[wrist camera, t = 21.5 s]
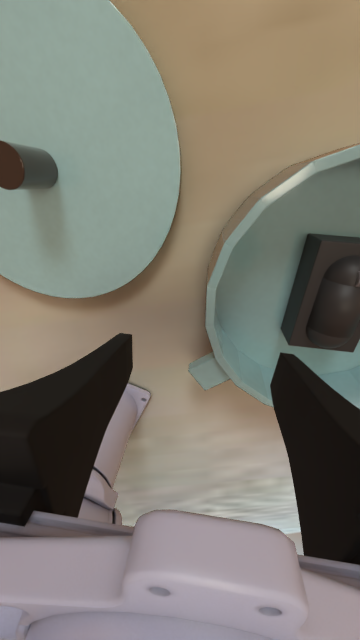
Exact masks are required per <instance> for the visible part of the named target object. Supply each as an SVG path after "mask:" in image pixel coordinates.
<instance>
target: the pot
mask: <svg viewBox="0 0 360 640" xmlns="http://www.w3.org/2000/svg"><path fill="white" fill-rule="evenodd" d="M309 233H311V234H323V235H335V236H347V237H359V238H360V143H358V144H354V145H350V146H347V147H343V148H340V149H336V150H333V151H331V152H328V153H325V154H322V155H319V156H317V157H314V158H311V159H308V160H305V161H303V162H300V163H297V164H294V165H291V166H290V167H288V168H286V169H285V170H284V171H282V172H281V173H279V174H278V175H277V176H275V177H274V178H272V179H270V180H269V181H267V182H266V183H265V184H264V185H263V186H261V187H260V188H259V189H258V190H256V191H255V192H253V193H252V194H251V195H250V196H249V197H248V198H247V199H246V200H245V202H244V203H243V204H242V205H241V206H240V207H239V209H238V210H237V211H236V212H235V214H234V215H233V216H232V218H231V219H230V220H229V222H228V223H227V225H226V226H225V227H224V229H223V230H222V232H221V234H220V237H219V240H218V242H217V244H216V247H215V249H214V251H213V255H212V258H211V260H210V263H209V266H208V274H207V293H206V315H205V328H206V331H207V334H208V337H209V340H210V343H211V346H212V350H213V352H211V353H209V354H207V355H205V356H203V357H201V358H199V359H197V360H195V361H193V362H192V363H190V364H189V370H188V371H189V372H190V374H191V375H192V376H193V377H194V378H195V379H196V381H197V382H198V383H199V384H200V385H201V386H202V388H203V389H204V390H208V389H210V388H212V387H214V386H216V385H218V384H221V383H223V382H225V381H227V380H229V379H231V380H232V381H233V382H234V384H235V385H237V386H238V387H239V388H241V389H242V390H244V391H245V392H247V393H248V394H250V395H251V396H253V397H254V398H256V399H257V400H259V401H260V402H262V403H263V404H265V405H268V406H271V407H274V406H273V402H272V396H271V389H270V384H271V380H272V377H273V374H274V371H275V368H276V365H277V361H278V358H279V355H280V352H281V353H289V354H294V355H295V356H297V357H298V358H299V359H300V360H301V361H302V362H303V363H304V364H306V365H307V366H308V367H309V368H310V369H311V370H312V371H313V372H314V373H315V374H317V375H318V376H319V377H320V378H321V379H322V380H323V381H325V382H326V383H327V384H328V385H329V386H330V387H332V388H333V389H334V390H335V391H336V392H338V393H339V394H340V395H342V396H343V397H344V398H345V399H347V400H348V401H349V402H351V403H352V404H353V405H355V406H356V407H358V408H359V409H360V340H359V342H358V344H357V346H356V348H355V350H354V352H353V353H352V352H343V351H334V350H326V349H317V348H308V347H299V346H290V345H288V343H287V341H286V339H285V337H284V335H283V333H282V331H281V325H282V322H283V318H284V315H285V311H286V308H287V304H288V301H289V297H290V294H291V291H292V287H293V284H294V280H295V277H296V273H297V270H298V266H299V263H300V259H301V256H302V252H303V249H304V245H305V242H306V239H307V235H308V234H309Z"/></svg>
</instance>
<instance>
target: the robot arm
mask: <svg viewBox="0 0 360 640" xmlns="http://www.w3.org/2000/svg"><path fill="white" fill-rule="evenodd" d="M132 368H133V362H132V335H131V334H123V333H119V334H118V335H116V336H115V337H113V338H112V339H111V340H109V341H108V342H106V343H105V344H103V345H102V346H100V347H99V348H98V349H96V350H95V351H93V352H91V353H90V354H88V355H87V356H85V357H83V358H82V359H80V360H78V361H77V362H75V363H73V364H71V365H69V366H67V367H65V368H63V369H61V370H59V371H57V372H55V373H53V374H50V375H48V376H46V377H43V378H41V379H38V380H36V381H33V382H31V383H28V384H25V385H22V386H19V387H16V388H13V389H10V390H6V391H3V392H0V640H360V409H359V408H358V407H356V406H355V405H353V404H352V403H351V402H349V401H348V400H347V399H345V398H344V397H343V396H342V395H340V394H339V393H338V392H336V391H335V390H334V389H333V388H332V387H330V386H329V385H328V384H327V383H326V382H325V381H323V380H322V379H321V378H320V377H319V376H318V375H317V374H315V373H314V372H313V371H312V370H311V369H310V368H309V367H308V366H307V365H306V364H304V363H303V362H302V361H301V360H300V359H299V358H298V357H297V356H295V355H294V354H289V353H281V352H280V355H279V358H278V361H277V365H276V368H275V371H274V374H273V377H272V380H271V384H270V389H271V396H272V402H273V406H274V410H275V413H276V417H277V420H278V423H279V427H280V430H281V433H282V436H283V440H284V443H285V446H286V450H287V453H288V457H289V462H290V467H291V472H292V478H293V483H294V489H295V495H296V501H297V507H298V514H299V521H300V527H301V534H302V543H303V551H304V556H303V555H297V552H296V548H295V544H294V542H293V541H292V540H291V539H289V538H288V537H287V536H286V535H285V534H284V533H283V532H281V531H280V530H279V529H276V528H273V527H269V526H266V525H263V524H258V523H252V522H246V521H239V520H233V519H227V518H221V517H215V516H208V515H202V514H196V513H190V512H184V511H177V510H154V511H151V512H149V513H146V514H143V515H142V516H140V517H139V519H138V520H137V522H136V524H135V526H134V527H130V526H124V525H122V517H121V513H120V511H119V510H117V509H115V508H114V507H115V503H116V500H117V497H118V493H117V492H115V491H114V490H112V488H113V485H114V482H115V479H116V476H117V473H118V470H119V467H120V464H121V461H122V458H123V455H124V452H125V449H126V446H127V443H128V440H129V437H130V435H131V433H132V431H133V429H134V427H135V425H136V423H137V421H138V420H139V418H140V416H141V414H142V412H143V410H144V408H145V406H146V405H147V403H148V401H149V399H150V396H151V394H150V392H148V391H146V390H143V389H141V388H139V387H136V386H134V385H131V384H129V383H128V381H129V378H130V374H131V371H132ZM144 398H145V399H144Z"/></svg>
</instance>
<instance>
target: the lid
mask: <svg viewBox="0 0 360 640" xmlns="http://www.w3.org/2000/svg"><path fill="white" fill-rule="evenodd" d="M180 182H181V153H180V144H179V137H178V130H177V125H176V121H175V117H174V113H173V109H172V105H171V101H170V99H169V96H168V94H167V91H166V88H165V86H164V83H163V80H162V78H161V75H160V73H159V71H158V70H157V68H156V66H155V64H154V62H153V60H152V58H151V56H150V54H149V52H148V50H147V48H146V47H145V45H144V44H143V42H142V41H141V39H140V38H139V36H138V35H137V33H136V32H135V30H134V29H133V27H132V26H131V25H130V23H129V22H128V21H127V20H126V19H125V18H124V16H123V15H122V14H121V13H120V12H119V10H118V9H117V8H116V7H115V6H114V5H113V4H112V3H111V2H110V1H109V0H0V274H1V275H2V276H4V277H5V278H7V279H9V280H10V281H12V282H14V283H16V284H18V285H20V286H22V287H25V288H27V289H30V290H33V291H35V292H38V293H41V294H46V295H50V296H54V297H62V298H87V297H95V296H98V295H102V294H106V293H109V292H111V291H113V290H116V289H118V288H120V287H122V286H123V285H125V284H127V283H128V282H130V281H131V280H133V279H134V278H135V277H136V276H138V275H139V274H140V273H141V272H142V271H143V270H144V269H145V268H146V267H147V266H148V265H149V264H150V262H151V261H152V260H153V259H154V258H155V256H156V255H157V253H158V252H159V250H160V248H161V247H162V245H163V244H164V241H165V239H166V237H167V235H168V233H169V231H170V229H171V226H172V223H173V219H174V216H175V213H176V209H177V204H178V199H179V194H180Z"/></svg>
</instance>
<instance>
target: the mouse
mask: <svg viewBox="0 0 360 640" xmlns="http://www.w3.org/2000/svg"><path fill="white" fill-rule="evenodd" d="M281 331H282V333H283V335H284V337H285V339H286V341H287V343H288V345H290V346H299V347H308V348H317V349H326V350H334V351H343V352H352V353H353V352H354V350H355V348H356V346H357V344H358V342H359V340H360V238H359V237H347V236H335V235H323V234H311V233H309V234H308V235H307V239H306V242H305V245H304V249H303V252H302V256H301V259H300V263H299V266H298V270H297V273H296V277H295V280H294V284H293V287H292V291H291V294H290V297H289V301H288V304H287V308H286V311H285V315H284V318H283V322H282V325H281Z"/></svg>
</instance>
